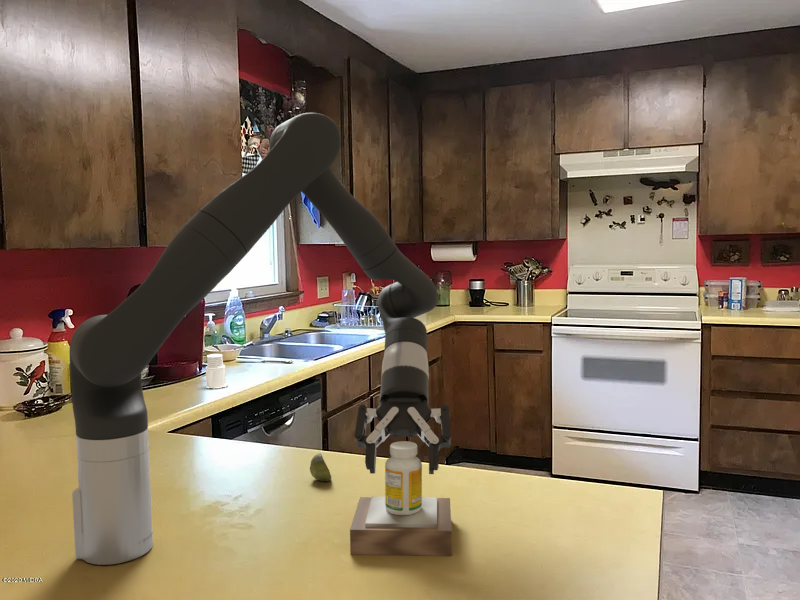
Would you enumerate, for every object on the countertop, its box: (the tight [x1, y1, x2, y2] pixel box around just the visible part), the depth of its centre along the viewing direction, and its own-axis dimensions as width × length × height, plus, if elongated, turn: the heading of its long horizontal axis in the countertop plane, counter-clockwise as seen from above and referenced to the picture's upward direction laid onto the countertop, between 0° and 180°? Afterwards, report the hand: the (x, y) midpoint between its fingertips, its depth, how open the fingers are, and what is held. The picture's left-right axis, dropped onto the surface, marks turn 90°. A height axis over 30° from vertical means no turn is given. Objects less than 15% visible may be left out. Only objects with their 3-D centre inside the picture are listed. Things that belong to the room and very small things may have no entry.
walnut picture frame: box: [349, 496, 453, 557], centre depth 97 cm, size 14×12×4 cm
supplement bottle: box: [384, 440, 423, 515], centre depth 97 cm, size 5×5×10 cm
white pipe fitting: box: [205, 353, 227, 388], centre depth 204 cm, size 8×7×10 cm
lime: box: [309, 452, 332, 482], centre depth 121 cm, size 4×5×5 cm
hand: (401, 471), depth 95 cm, fingers open, 8 cm apart
